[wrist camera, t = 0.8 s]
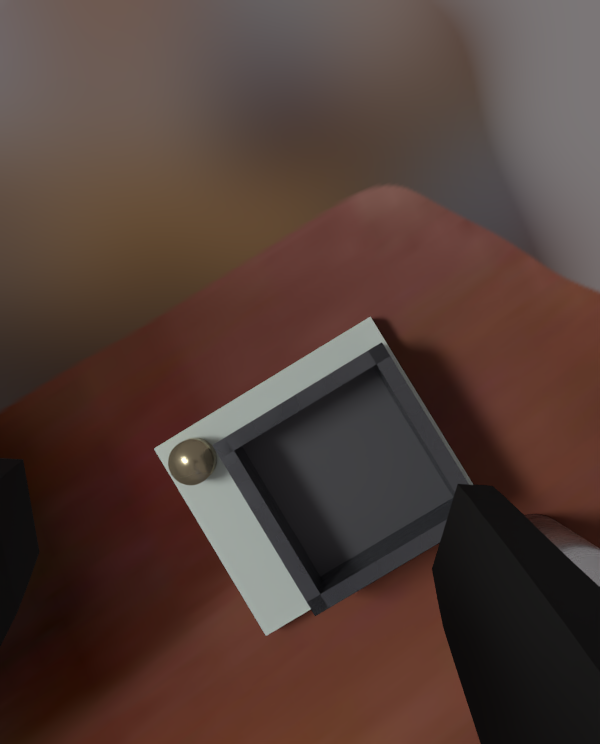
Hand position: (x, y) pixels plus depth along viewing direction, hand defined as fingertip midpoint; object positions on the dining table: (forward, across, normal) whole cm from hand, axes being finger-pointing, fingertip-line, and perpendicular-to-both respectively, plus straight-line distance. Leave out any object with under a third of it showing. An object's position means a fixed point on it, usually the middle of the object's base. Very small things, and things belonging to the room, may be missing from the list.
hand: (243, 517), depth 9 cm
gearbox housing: (+17, -4, +13) cm, 22 cm away
